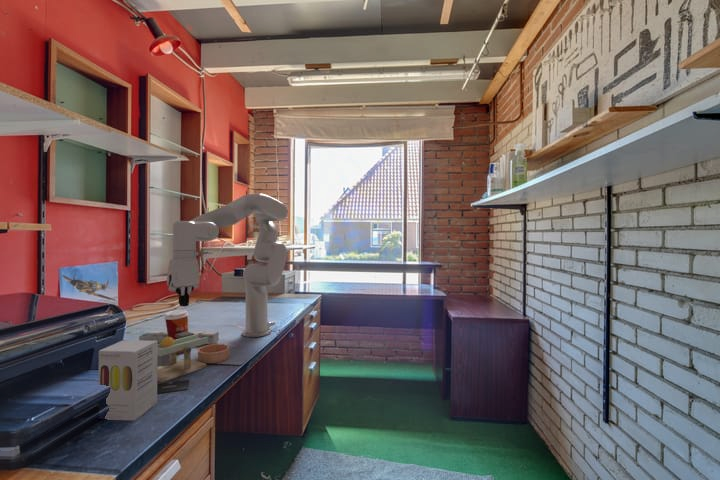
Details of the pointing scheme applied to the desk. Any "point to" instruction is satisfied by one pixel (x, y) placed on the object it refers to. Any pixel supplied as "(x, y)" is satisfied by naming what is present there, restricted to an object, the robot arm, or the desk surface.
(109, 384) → the supplement box
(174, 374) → the stand
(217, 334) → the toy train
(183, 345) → the lever tray
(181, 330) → the coffee cup
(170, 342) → the ball
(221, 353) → the bowl
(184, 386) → the solid state drive
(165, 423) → the desk surface
